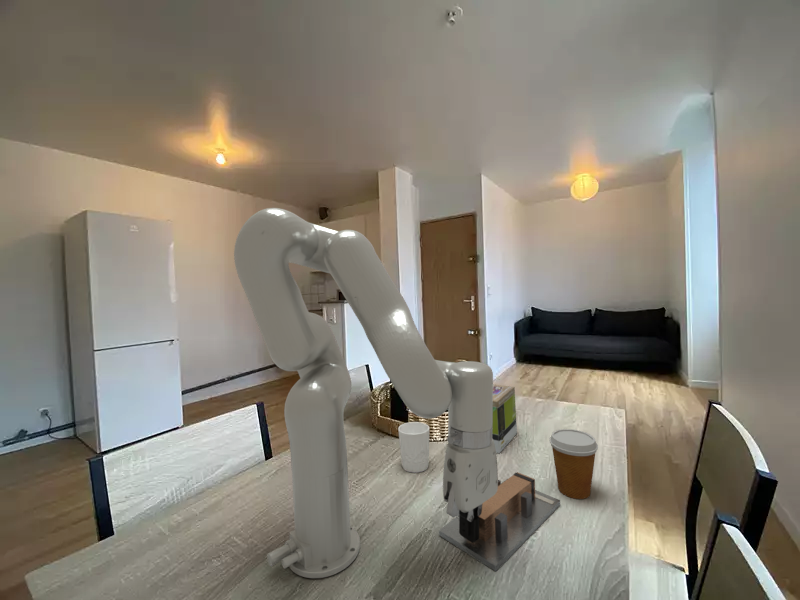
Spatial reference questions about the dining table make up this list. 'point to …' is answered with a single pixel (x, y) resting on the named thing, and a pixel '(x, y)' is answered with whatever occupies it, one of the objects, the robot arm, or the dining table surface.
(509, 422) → the tea box
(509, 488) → the wooden beam
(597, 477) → the dining table surface
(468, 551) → the plate
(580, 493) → the disposable coffee cup
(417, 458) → the white cup
